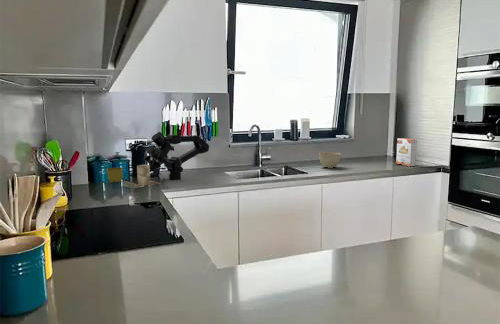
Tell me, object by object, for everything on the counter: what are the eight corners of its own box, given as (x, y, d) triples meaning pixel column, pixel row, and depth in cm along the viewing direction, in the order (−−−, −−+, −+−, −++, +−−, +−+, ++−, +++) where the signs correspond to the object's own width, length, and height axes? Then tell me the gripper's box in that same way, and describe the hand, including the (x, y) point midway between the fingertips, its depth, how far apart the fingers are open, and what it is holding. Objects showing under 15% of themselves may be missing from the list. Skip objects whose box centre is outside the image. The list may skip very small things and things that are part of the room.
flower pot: (107, 182, 236) (106, 168, 234) (122, 181, 239) (121, 167, 238) (107, 185, 228) (106, 170, 226) (123, 184, 231) (122, 169, 229)
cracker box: (395, 164, 303) (396, 138, 300) (401, 164, 306) (402, 137, 303) (409, 167, 291) (411, 139, 288) (415, 166, 293) (417, 139, 290)
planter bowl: (341, 169, 282) (341, 154, 280) (318, 169, 285) (318, 154, 283) (340, 166, 297) (340, 152, 296) (319, 165, 300) (319, 151, 299)
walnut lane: (152, 183, 232) (152, 177, 232) (162, 185, 226) (162, 178, 225) (123, 188, 218) (123, 181, 217) (133, 191, 211) (133, 183, 211)
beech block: (145, 183, 225) (144, 164, 224) (150, 184, 222) (149, 165, 220) (137, 184, 222) (136, 165, 220) (142, 185, 218) (141, 166, 217)
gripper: (145, 141, 231) (129, 161, 224) (164, 143, 219) (148, 164, 212) (157, 153, 238) (142, 173, 231) (176, 156, 225) (160, 177, 219)
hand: (147, 172), depth 223 cm, fingers closed, pressing on beech block
